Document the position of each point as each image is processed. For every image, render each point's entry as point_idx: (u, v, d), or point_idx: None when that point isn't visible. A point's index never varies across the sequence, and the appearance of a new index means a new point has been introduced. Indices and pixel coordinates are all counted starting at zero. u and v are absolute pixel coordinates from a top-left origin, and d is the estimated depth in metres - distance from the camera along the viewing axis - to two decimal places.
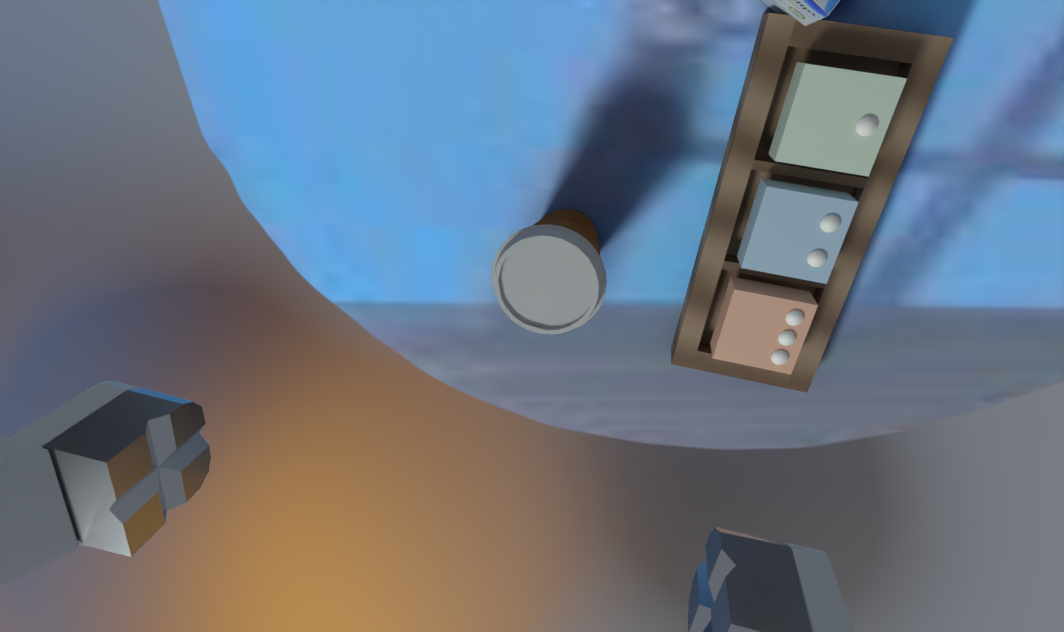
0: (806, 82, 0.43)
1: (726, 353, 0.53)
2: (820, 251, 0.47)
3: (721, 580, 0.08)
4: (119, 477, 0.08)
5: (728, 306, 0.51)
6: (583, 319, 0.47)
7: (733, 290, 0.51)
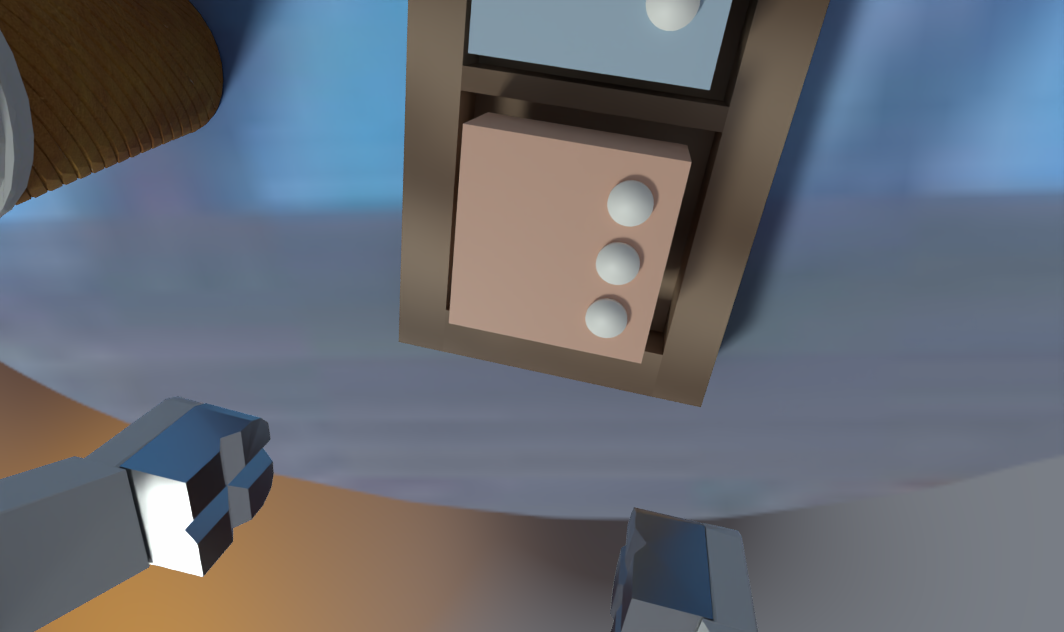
0: None
1: (478, 309, 0.21)
2: None
3: None
4: (196, 497, 0.08)
5: None
6: None
7: None
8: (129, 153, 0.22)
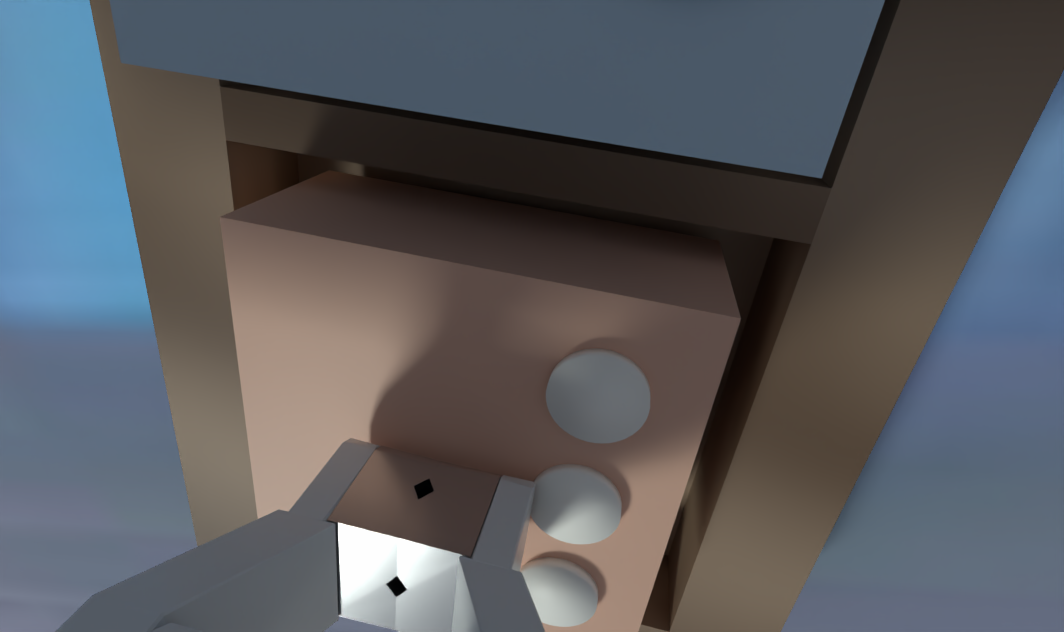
0: None
1: None
2: None
3: None
4: (403, 550, 0.07)
5: None
6: None
7: None
8: None
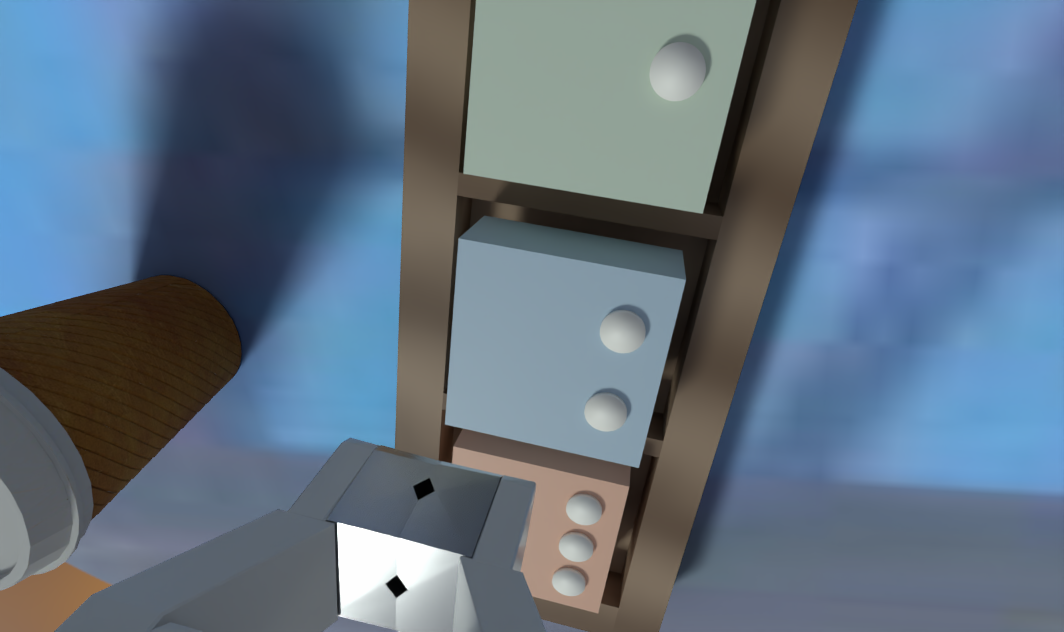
0: None
1: None
2: (611, 396, 0.19)
3: None
4: (402, 550, 0.07)
5: None
6: (20, 569, 0.19)
7: None
8: None
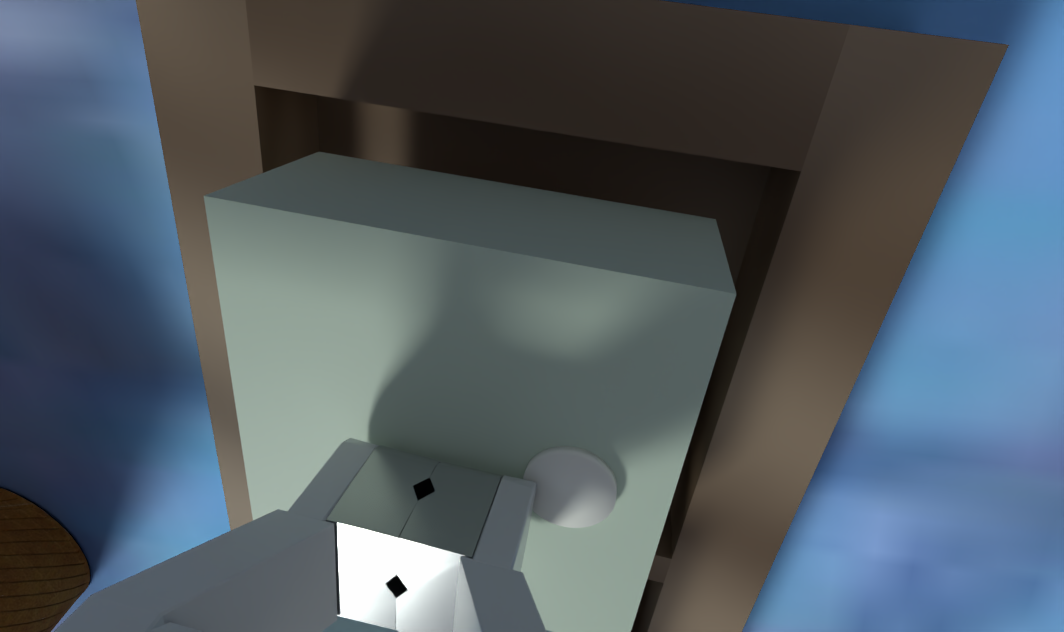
0: (245, 282, 0.08)
1: None
2: None
3: None
4: (401, 551, 0.07)
5: None
6: None
7: None
8: None
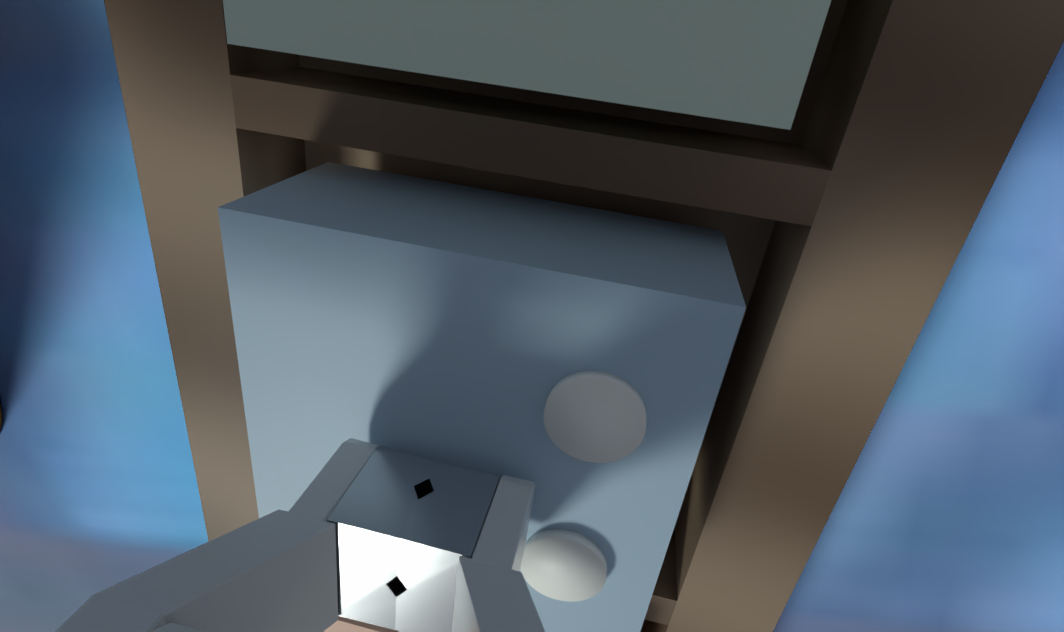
0: None
1: None
2: (573, 540, 0.09)
3: None
4: (402, 551, 0.07)
5: None
6: None
7: None
8: None
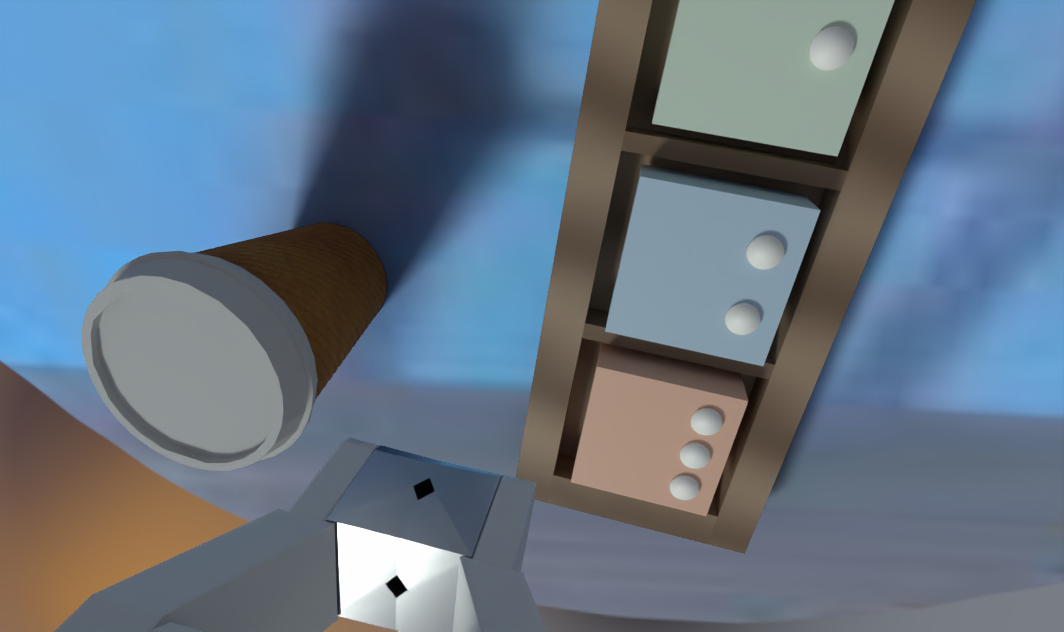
0: None
1: (593, 475, 0.30)
2: (749, 305, 0.24)
3: None
4: (402, 550, 0.07)
5: None
6: (266, 447, 0.23)
7: (596, 368, 0.28)
8: None
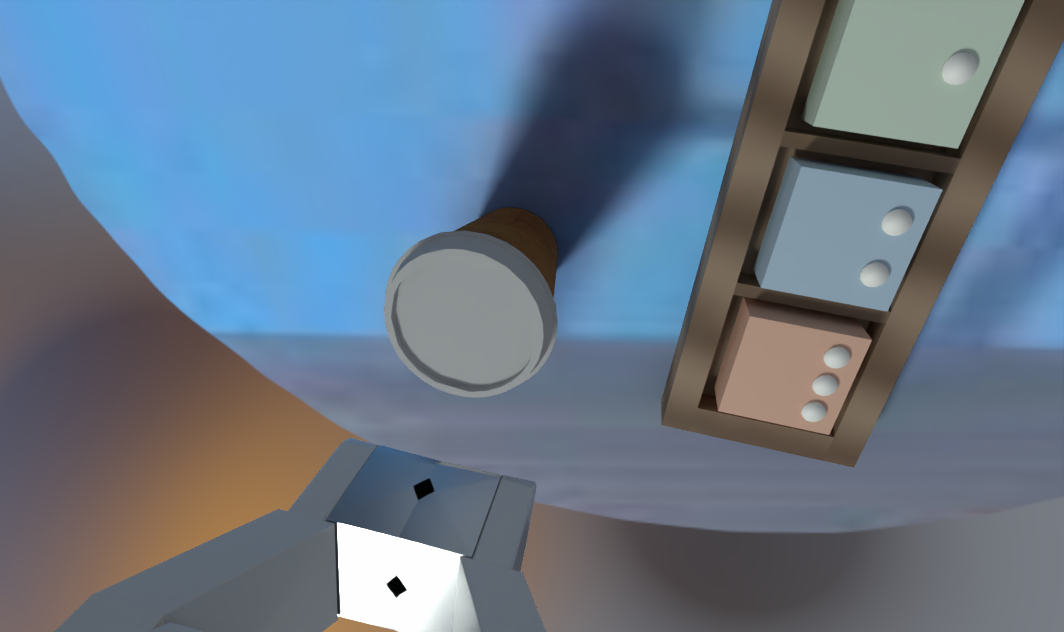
0: None
1: (737, 404, 0.38)
2: (880, 264, 0.32)
3: None
4: (402, 550, 0.07)
5: (741, 340, 0.36)
6: (522, 377, 0.31)
7: (748, 317, 0.35)
8: None
